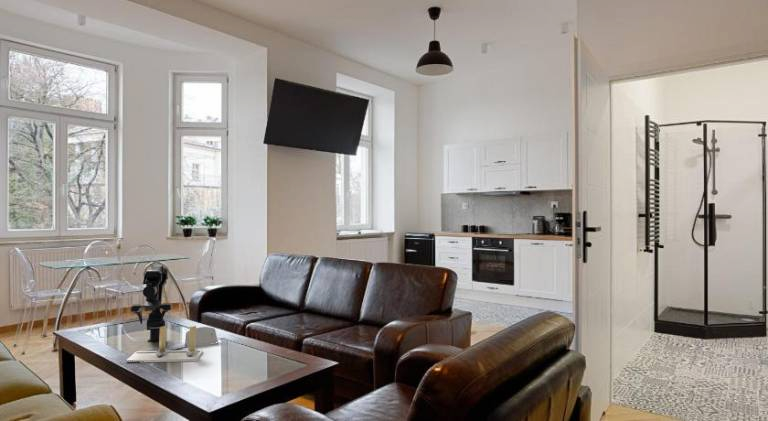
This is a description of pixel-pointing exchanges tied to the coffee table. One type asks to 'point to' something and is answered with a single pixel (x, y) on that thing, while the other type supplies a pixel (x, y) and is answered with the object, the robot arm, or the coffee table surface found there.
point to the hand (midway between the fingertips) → (151, 323)
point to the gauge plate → (171, 352)
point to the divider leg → (162, 342)
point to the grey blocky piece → (203, 336)
